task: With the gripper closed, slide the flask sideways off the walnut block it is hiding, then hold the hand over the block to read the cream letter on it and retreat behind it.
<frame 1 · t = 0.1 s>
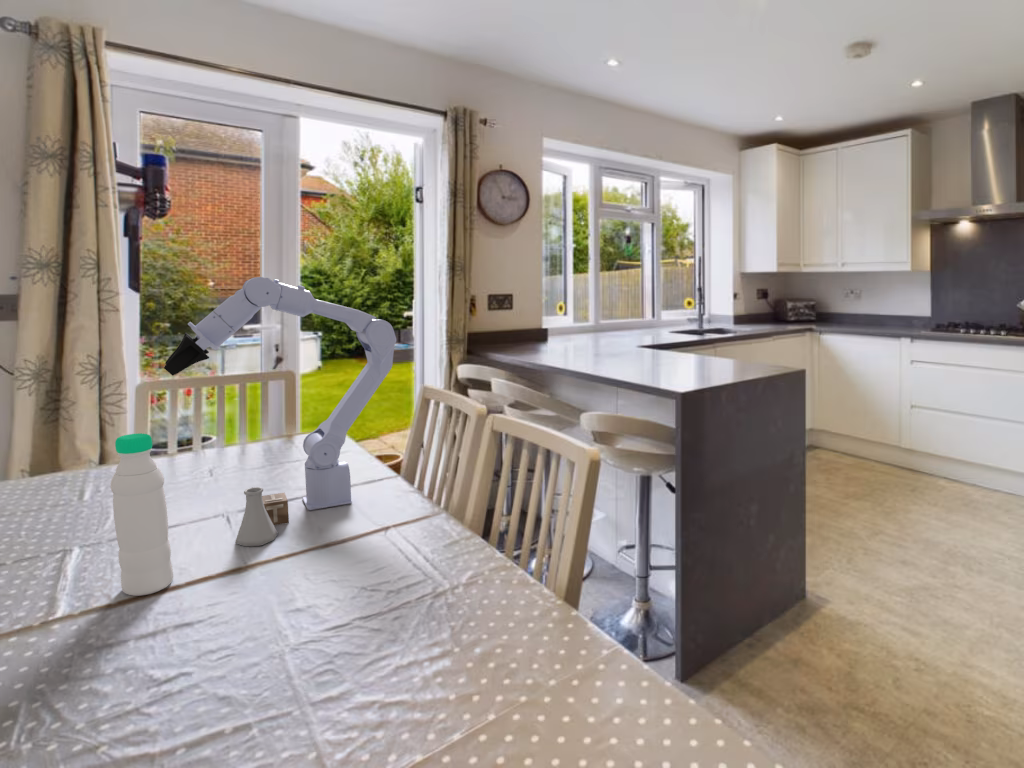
hand: (168, 369, 110), 32 cm above the table, tool tilted 50°, fingers open, 7 cm apart
flask: (257, 540, 110), on the table
lettered block: (274, 521, 119), on the table
water bottle: (148, 587, 92), on the table
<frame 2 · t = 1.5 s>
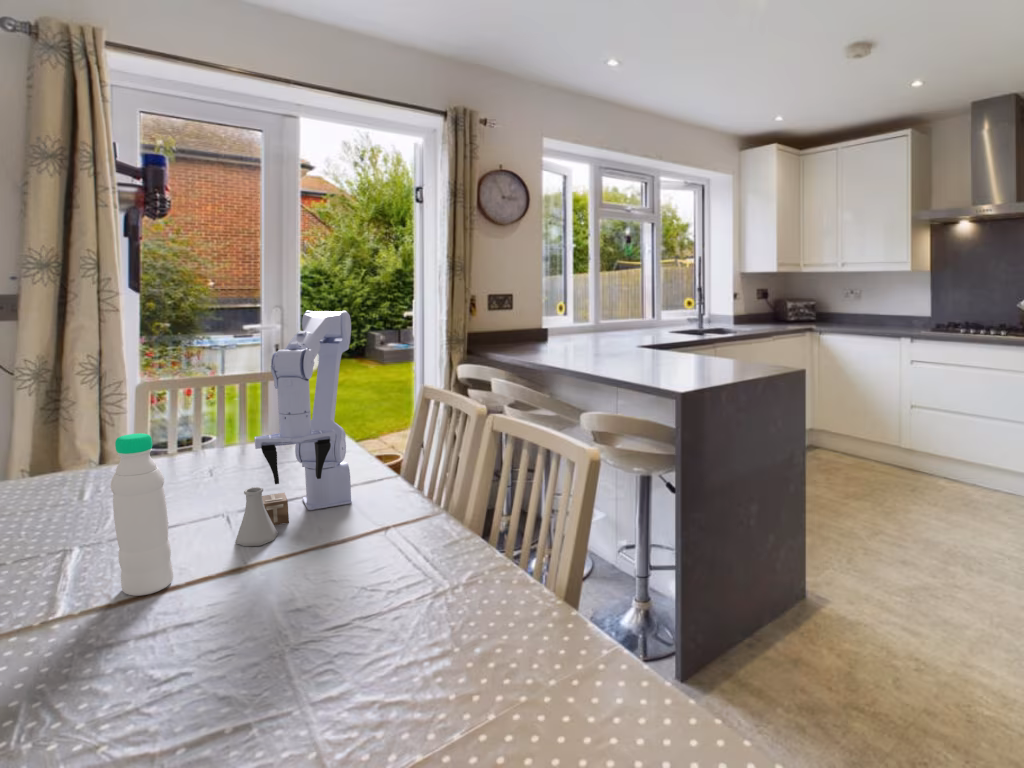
hand: (297, 480, 112), 11 cm above the table, tool pointing down, fingers open, 7 cm apart
nothing on the table moved.
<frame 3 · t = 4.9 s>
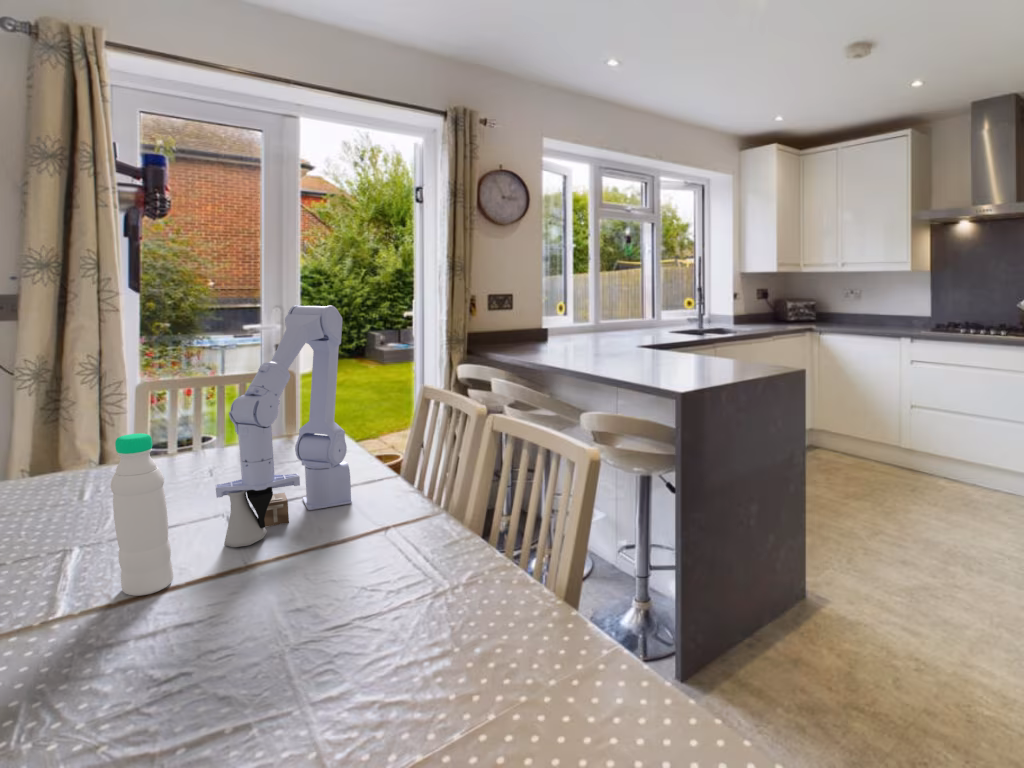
hand: (261, 526, 110), 2 cm above the table, tool pointing down, fingers closed, pressing on flask
flask: (246, 540, 109), on the table, touching gripper
everything else where it was.
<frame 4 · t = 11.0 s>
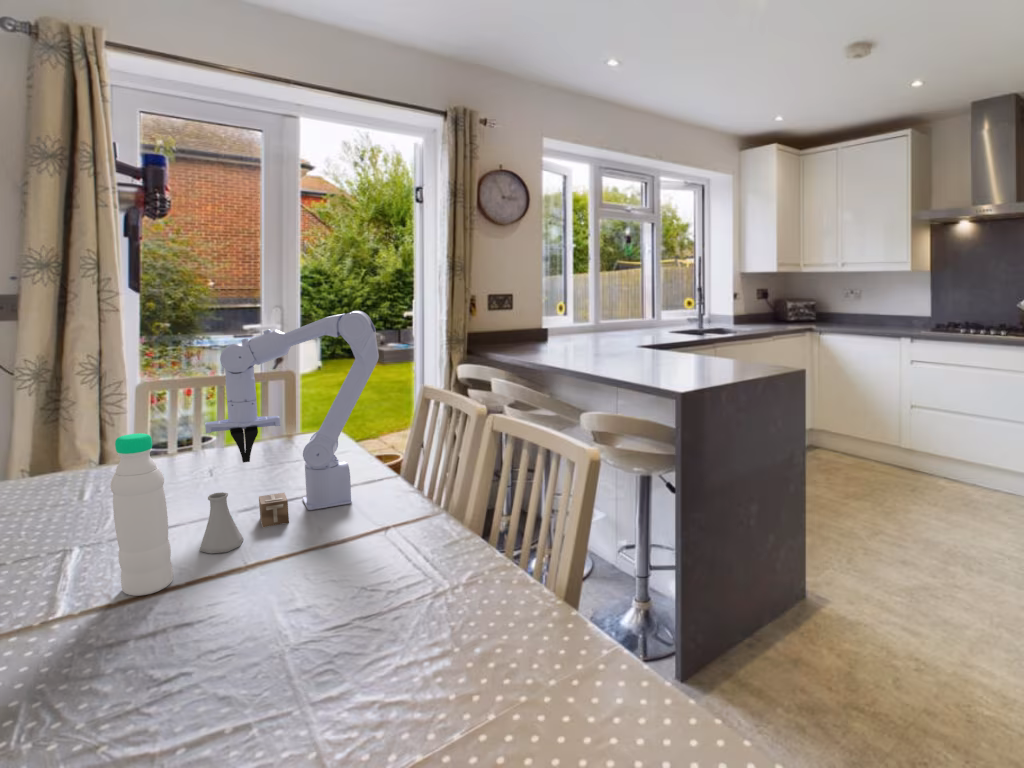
hand: (246, 461, 125), 10 cm above the table, tool pointing down, fingers closed
flask: (222, 547, 107), on the table
everything else where it was.
at the end: flask moved 6.0 cm from its start; flask tilted 0°; lettered block moved 0.1 cm from its start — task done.
